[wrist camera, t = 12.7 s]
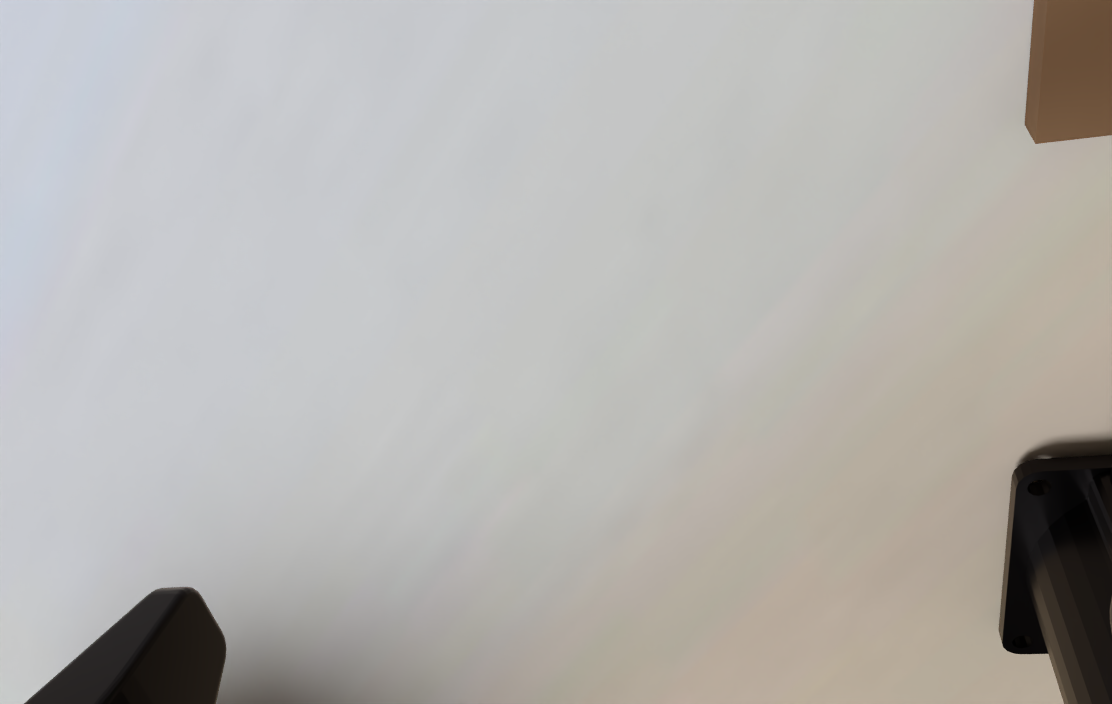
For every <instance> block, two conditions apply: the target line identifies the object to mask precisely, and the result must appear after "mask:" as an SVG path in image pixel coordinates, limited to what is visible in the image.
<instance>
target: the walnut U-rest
mask: <svg viewBox="0 0 1112 704" xmlns="http://www.w3.org/2000/svg"><path fill="white" fill-rule="evenodd" d="M1025 126H1026V128H1027V129H1028V131H1029V133H1030V135H1031V137H1032V138H1033V140H1034V142H1035V144H1038V143H1047V142H1056V141H1064V140H1073V139H1081V138H1090V137H1099V136H1107V135H1112V0H1034V9H1033V22H1032V35H1031V48H1030V62H1029V75H1028V88H1027V101H1026V114H1025Z"/></svg>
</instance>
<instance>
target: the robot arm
mask: <svg viewBox="0 0 1112 704" xmlns="http://www.w3.org/2000/svg"><path fill="white" fill-rule="evenodd" d="M1040 479H1042V480H1043V481H1041V482H1039V483H1032V482H1033V481H1035V480H1040ZM999 633H1000V637H1001V640H1002V644H1003V647H1004V648H1005V649H1006V650H1007V651H1009V652H1011V653H1015V654H1049V657H1050V660H1051V663H1052V666H1053V669H1054V673H1055V676H1056V679H1057V682H1058V685H1059V689H1060V692H1061V695H1062V698H1063V701H1064V704H1112V455H1102V456H1085V457H1068V458H1051V459H1036V460H1031V461H1027V462H1025V463H1023V464H1021V465H1019V466H1018V467H1017V468H1016V469H1015V470H1014V472H1013V475H1012V482H1011V493H1010V505H1009V516H1008V528H1007V540H1006V551H1005V563H1004V574H1003V586H1002V598H1001V609H1000V621H999ZM225 658H226V642H225V638H224V635H223V633H222V631H221V629H220V627H219V626H218V624H217V622H216V620H215V619H214V617H213V615H212V614H211V612H210V610H209V608H208V607H207V605H206V603H205V602H204V600H203V598H202V596H201V595H200V594H199V592H198V591H196V590H195V589H193V588H191V587H174V588H160V589H157V590H155V591H153V592H151V593H150V594H149V595H147V596H146V597H145V598H144V599H143V600H142V601H140V602H139V603H138V604H137V605H136V606H135V607H134V608H132V609H131V610H130V611H129V612H128V613H127V614H126V615H125V616H123V617H122V618H121V619H120V620H119V621H118V622H117V623H115V624H114V625H113V626H112V627H111V628H110V629H109V630H107V631H106V632H105V633H104V634H103V635H102V636H101V637H99V638H98V639H97V640H96V641H95V642H94V643H93V644H91V645H90V646H89V647H88V648H87V649H86V650H85V651H83V652H82V653H81V654H80V655H79V656H78V657H77V658H76V659H74V660H73V661H72V662H71V663H70V664H69V665H68V666H66V667H65V668H64V669H63V670H62V671H61V672H60V673H58V674H57V675H56V676H55V677H54V678H53V679H52V680H50V681H49V682H48V683H47V684H46V685H45V686H44V687H42V688H41V689H40V690H39V691H38V692H37V693H36V694H34V695H33V696H32V697H31V698H30V699H29V700H28V701H27V702H25V703H24V704H216V700H217V696H218V691H219V686H220V682H221V677H222V673H223V668H224V663H225Z"/></svg>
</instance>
